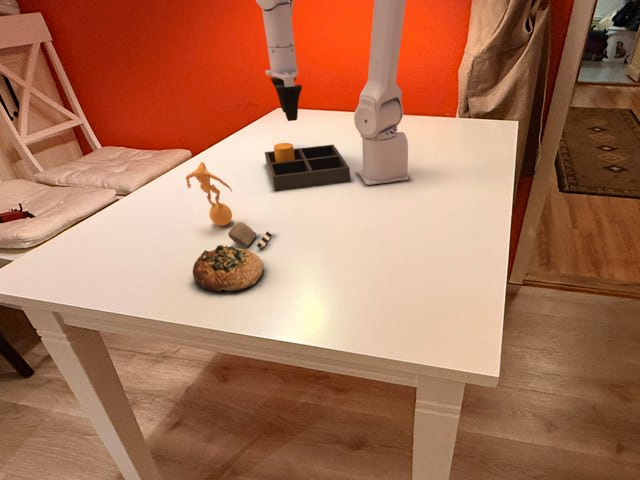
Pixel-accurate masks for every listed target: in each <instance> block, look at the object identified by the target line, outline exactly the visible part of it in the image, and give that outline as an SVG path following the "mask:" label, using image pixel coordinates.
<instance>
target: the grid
mask: <svg viewBox="0 0 640 480" xmlns="http://www.w3.org/2000/svg"><path fill="white" fill-rule="evenodd" d="M294 156H295V160H293V161H284V162H276V159H275V153H274V150H273V151H264V157H265V164H266V167H267V171H268V174H269V177H270V180H271V183H272V187H273V190H274V191H275V192H279V191H280V192H281V191H288V190H295V189H302V188H303V189H304V188H311V187H318V186H324V185H333V184H341V183H348V182H351V168H350V166H349V164H347V162H346V161H345V159H344V158H343V156H342V155H341V153H340V152H339V151H338V148H337V147H336V146H335V145H334V144H325V145H315V146H307V147H297V148H294Z"/></svg>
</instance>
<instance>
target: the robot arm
mask: <svg viewBox="0 0 640 480" xmlns="http://www.w3.org/2000/svg"><path fill="white" fill-rule="evenodd" d="M255 2H256V3H257V5H258V6H259V7H260V8H261V11H262V18H263V26H264V32H265V39H266V40H265V41H266V46H267V55H268V60H269V66H270V68H269V69H267V70H265V75H266V76H272V77H270V81H271V83H272V85H273V86H274V89H275V91H276V94H277V97H278V101H279V104H280V108H281V110H282V112H283V113H284V114H285V118H286V120H287V122H293V121H297V120H298V115H299V101H300V96H301V93H302V89H303V85H302V84H295V82H296V79H297V78H296V77H297V76H298V74H299V68H298V65H297V55H296V47H295V38H294V37H295V36H294V29H293V27H294V26H293V20H292V19H293V18H292V17H293V14H294V10H293V5H294V3H295V0H255ZM406 3H407V0H374V1H373V13H372V26H371V36H370V39H371V40H370V48H369V62H368V71H367V73H368V74H367V82H366V83H365V85H364V87H363V89H362V90H361V92H360V94H359V101H358V104H357V107H356V108H355V110H354V113H353V121H354V125H355V128H356V130H357V131H358V133H359V134H360V138H361V143H362V144H361V149H362V169H361V170H358V171H357V174H358V175H359V176H360V179H362V180H363V182H364V184H365V185H367V186H372V185H379V184H380V185H381V184H387V183H395V182H401V181H408V180H409V177H408V170H409V169H408V167H409V142H408V138H407V135H406V133H405V132H404V131H398V125H399V124H400V123H401V122H402V119H403V117H404V107H403V102H402V94H403V91H402V89H401V88H400V87H399V86H398V84H397V76H398V68H399V59H400V52H401V45H402V43H401V42H402V34H403V28H404V17H405V10H406Z"/></svg>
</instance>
